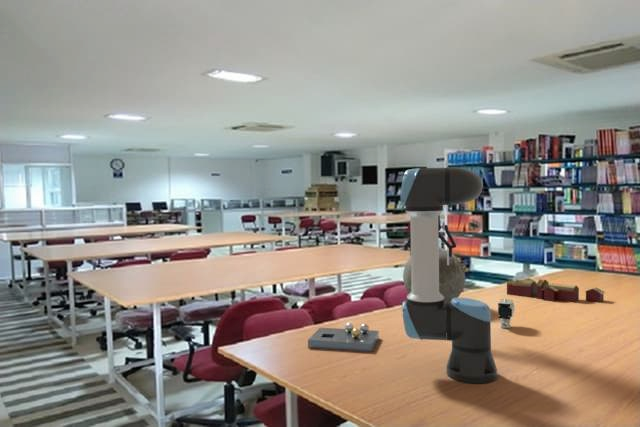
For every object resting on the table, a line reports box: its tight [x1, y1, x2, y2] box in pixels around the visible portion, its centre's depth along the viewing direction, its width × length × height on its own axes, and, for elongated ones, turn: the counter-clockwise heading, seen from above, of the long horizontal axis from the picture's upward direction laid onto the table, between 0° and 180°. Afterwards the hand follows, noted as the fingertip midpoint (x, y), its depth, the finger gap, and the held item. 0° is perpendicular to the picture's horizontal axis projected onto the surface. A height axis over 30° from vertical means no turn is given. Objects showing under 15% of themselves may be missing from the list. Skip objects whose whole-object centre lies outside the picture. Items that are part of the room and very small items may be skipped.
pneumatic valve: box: [497, 298, 515, 330], centre depth 202 cm, size 6×12×12 cm, turn 152°
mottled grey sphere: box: [402, 247, 466, 303], centre depth 241 cm, size 30×30×30 cm
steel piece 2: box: [359, 323, 370, 333], centre depth 188 cm, size 3×3×3 cm
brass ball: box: [351, 327, 360, 338], centre depth 182 cm, size 3×3×3 cm
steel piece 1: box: [344, 322, 355, 332], centre depth 190 cm, size 3×3×3 cm
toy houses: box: [506, 277, 607, 304], centre depth 257 cm, size 45×20×10 cm, turn 45°
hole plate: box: [307, 327, 380, 353], centre depth 185 cm, size 17×24×3 cm
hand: (431, 264), depth 199 cm, fingers open, 13 cm apart
